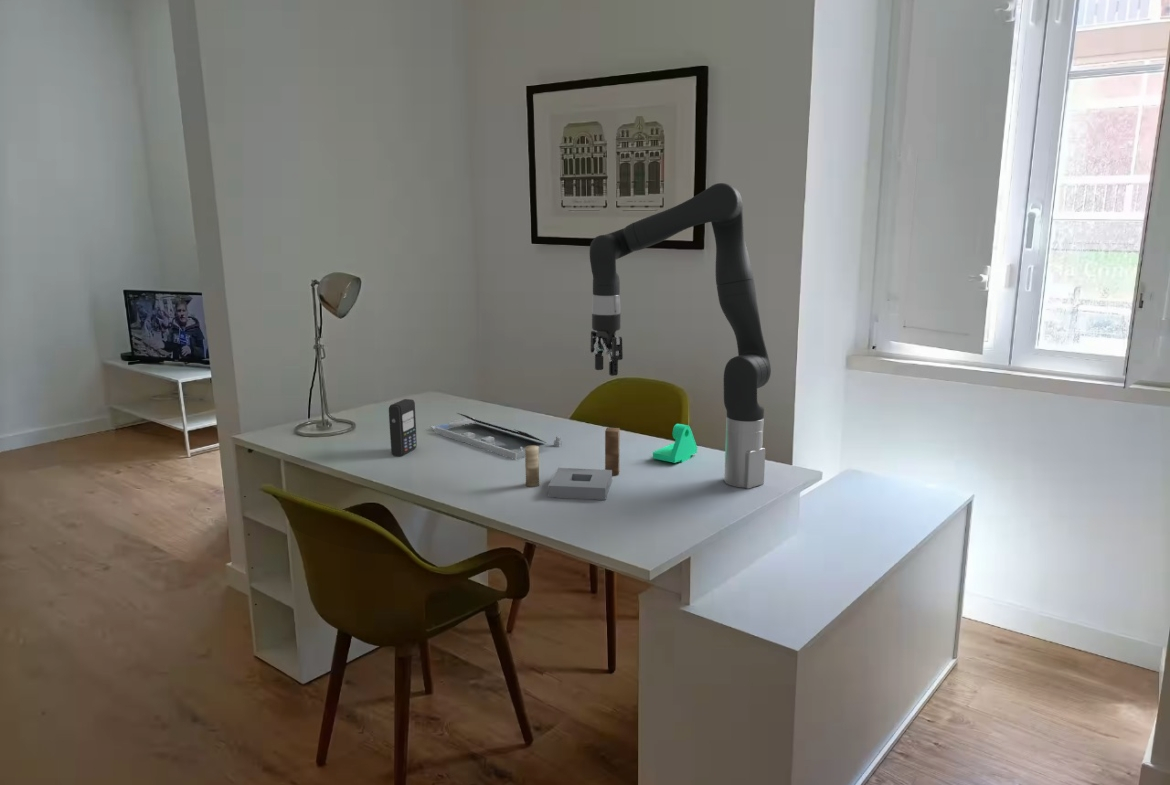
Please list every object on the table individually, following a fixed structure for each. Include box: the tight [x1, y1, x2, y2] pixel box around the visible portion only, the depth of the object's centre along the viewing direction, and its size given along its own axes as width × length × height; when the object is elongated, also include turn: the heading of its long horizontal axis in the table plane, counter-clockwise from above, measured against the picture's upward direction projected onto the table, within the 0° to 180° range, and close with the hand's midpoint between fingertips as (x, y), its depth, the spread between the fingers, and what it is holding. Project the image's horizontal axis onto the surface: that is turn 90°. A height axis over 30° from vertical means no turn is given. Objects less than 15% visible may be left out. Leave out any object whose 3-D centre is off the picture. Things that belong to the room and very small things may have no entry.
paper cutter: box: [430, 412, 563, 460], centre depth 254 cm, size 18×45×6 cm, turn 44°
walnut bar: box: [604, 427, 621, 476], centre depth 219 cm, size 3×3×12 cm
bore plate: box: [547, 467, 613, 501], centre depth 208 cm, size 14×14×3 cm
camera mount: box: [652, 423, 698, 464], centre depth 232 cm, size 12×8×10 cm, turn 142°
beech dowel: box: [524, 444, 540, 488], centre depth 211 cm, size 3×3×10 cm
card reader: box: [388, 398, 418, 457], centre depth 238 cm, size 9×4×15 cm, turn 161°
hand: (606, 372), depth 221 cm, fingers open, 8 cm apart
